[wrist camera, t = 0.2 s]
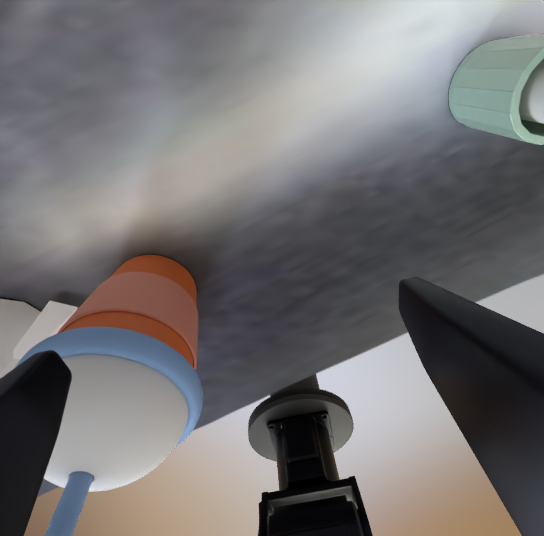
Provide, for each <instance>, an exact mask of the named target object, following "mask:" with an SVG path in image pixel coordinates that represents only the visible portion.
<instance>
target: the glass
mask: <svg viewBox="0 0 544 536" xmlns="http://www.w3.org/2000/svg"><path fill="white" fill-rule="evenodd" d="M543 58H544V33H540V34H532V35H523V36H515V37H506V38H502V39H496V40H491V41H488V42H486V43H483V44H481V45H480V46H478V47H477V48H475V49H474V50H473V51H471V52H470V53H469V54H468V55H467V56H466V57H465V59H464V60H463V61H462V62H461V64H460V65H459V67H458V68H457V70H456V72H455V74H454V76H453V78H452V81H451V84H450V89H449V106H450V110H451V112H452V114H453V116H454V118H455V119H456V120H457V121H458V122H460V123H461V124H463V125H465V126H467V127H471V128H475V129H479V130H482V131H486V132H490V133H494V134H498V135H502V136H505V137H509V138H513V139H517V140H521V141H525V142H529V143H534V144H538V145H542V144H544V124H542V123H537V122H531V121H526V120H521V119H520V115H519V110H518V109H519V103H520V97H521V91H522V90H523V88H524V86H525V84H526V82H527V80H528V78H529V76H530V74H531V72H532V71H533V70H534V69H535V67H536V66H537V65H538V64H539V63H540V62H541V61H542V60H543Z"/></svg>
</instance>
